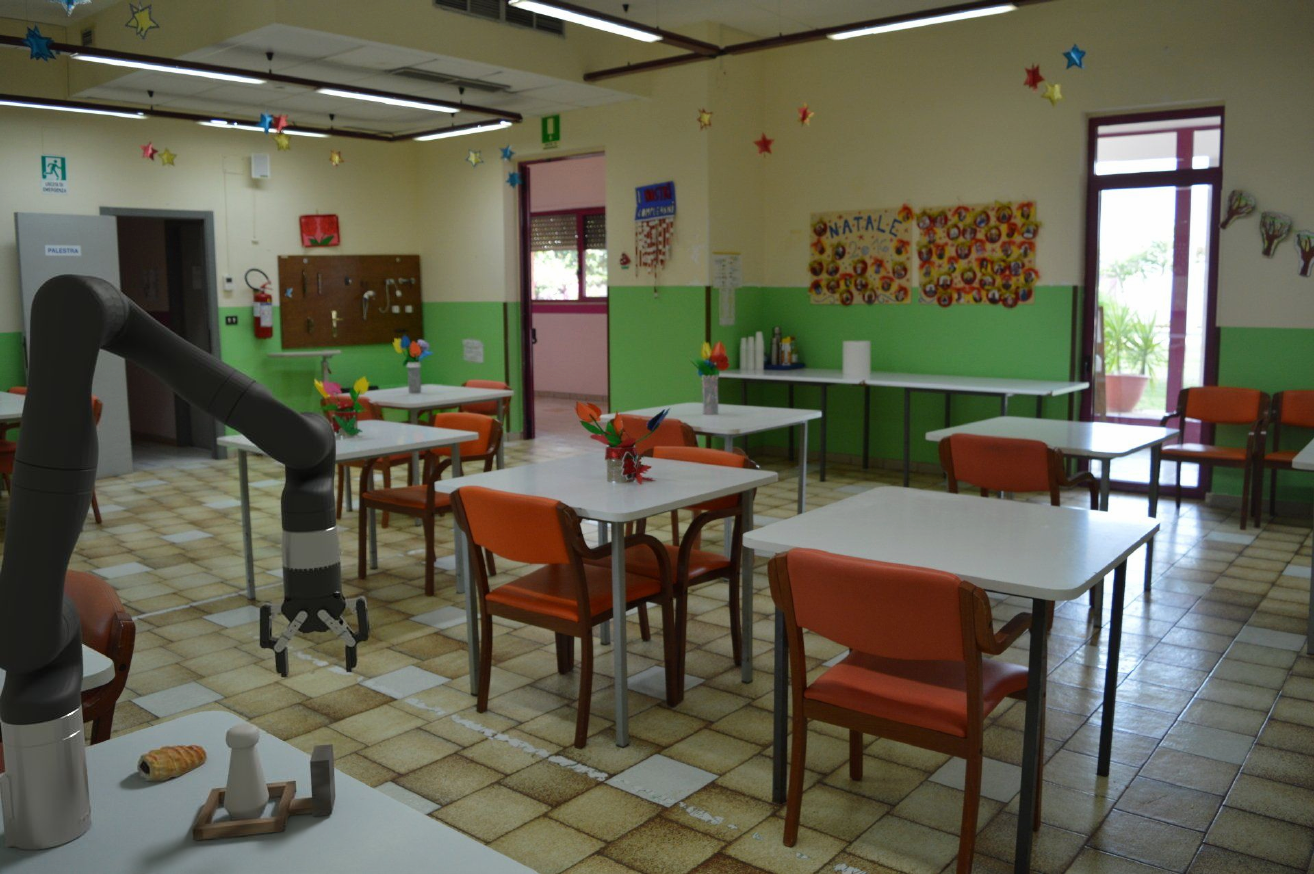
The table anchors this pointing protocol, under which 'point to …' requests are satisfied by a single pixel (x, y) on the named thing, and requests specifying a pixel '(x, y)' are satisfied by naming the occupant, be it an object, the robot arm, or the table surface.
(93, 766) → the table surface
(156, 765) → the pastry
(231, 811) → the salt shaker
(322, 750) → the frame
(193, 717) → the table surface
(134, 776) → the table surface
